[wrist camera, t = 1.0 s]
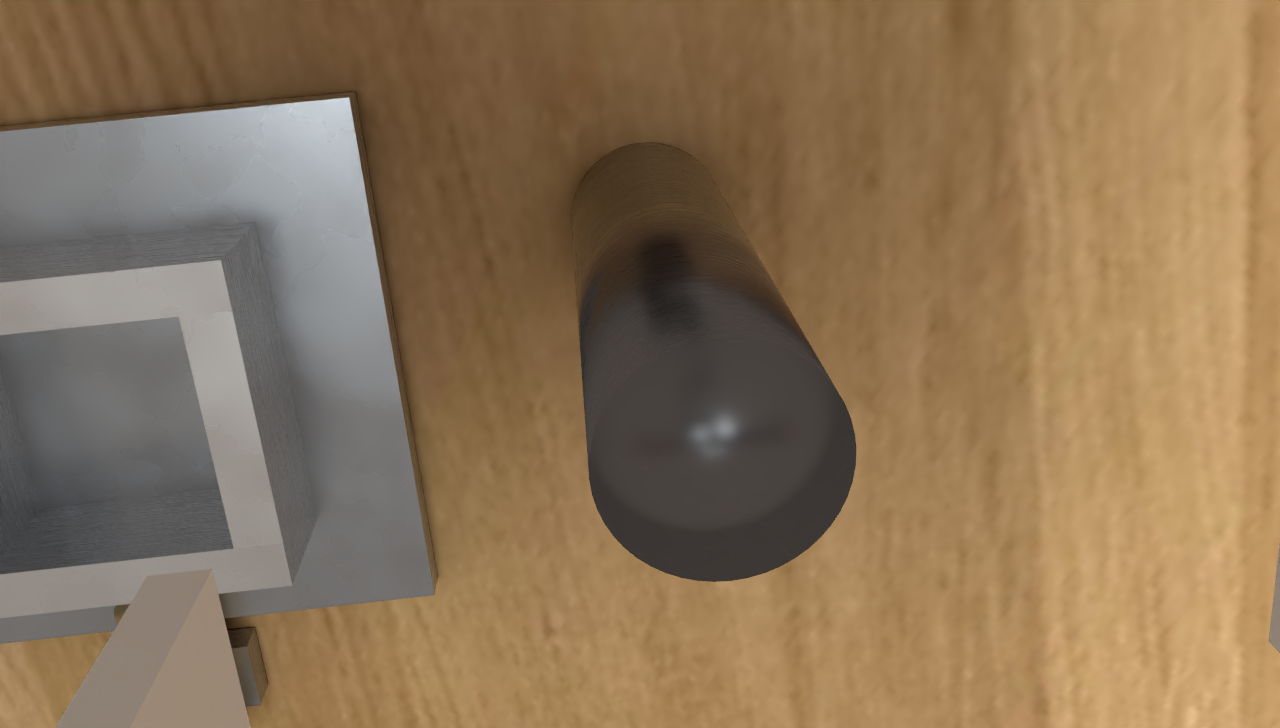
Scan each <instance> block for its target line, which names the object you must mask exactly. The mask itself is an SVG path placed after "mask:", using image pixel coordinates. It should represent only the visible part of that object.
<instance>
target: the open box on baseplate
mask: <svg viewBox="0 0 1280 728" xmlns="http://www.w3.org/2000/svg"><path fill="white" fill-rule="evenodd" d="M205 569H212V570H213V574H214V578H215V582H216V586H217V591H218V595H219V599H220V603H221V607H222V611H223V615H224V618H233V617H242V616H251V615H260V614H269V613H278V612H287V611H295V610H304V609H313V608H322V607H331V606H340V605H349V604H358V603H367V602H375V601H384V600H393V599H402V598H411V597H420V596H429V595H435V589H436V583H437V571H436V565H435V559H434V553H433V547H432V541H431V535H430V529H429V523H428V518H427V512H426V506H425V500H424V494H423V488H422V482H421V476H420V470H419V464H418V459H417V453H416V447H415V441H414V435H413V429H412V423H411V417H410V411H409V405H408V400H407V394H406V388H405V382H404V376H403V370H402V364H401V358H400V352H399V346H398V341H397V335H396V329H395V323H394V317H393V311H392V305H391V299H390V293H389V287H388V281H387V276H386V270H385V264H384V258H383V252H382V246H381V240H380V234H379V228H378V222H377V217H376V211H375V205H374V199H373V193H372V187H371V181H370V175H369V169H368V163H367V158H366V152H365V146H364V140H363V134H362V128H361V122H360V116H359V110H358V104H357V99H356V93H355V91H354V92H344V93H334V94H323V95H313V96H303V97H293V98H283V99H272V100H262V101H252V102H242V103H232V104H221V105H211V106H201V107H191V108H181V109H170V110H160V111H150V112H140V113H130V114H119V115H109V116H99V117H89V118H79V119H68V120H58V121H48V122H38V123H28V124H17V125H7V126H0V644H2V643H11V642H20V641H29V640H38V639H46V638H55V637H64V636H73V635H82V634H91V633H100V632H109V631H114V630H115V628H116V626H117V625H118V623H119V621H120V620H121V618H122V617H123V615H124V613H125V612H126V610H127V608H128V607H129V605H130V603H131V602H132V600H133V599H134V597H135V595H136V594H137V592H138V590H139V589H140V587H141V585H142V584H143V582H144V580H145V579H146V577H147V576H151V575H160V574H169V573H178V572H187V571H196V570H205ZM227 632H228V636H229V640H230V644H231V648H232V653H233V657H234V661H235V665H236V669H237V673H238V677H239V682H240V686H241V690H242V694H243V698H244V702H245V706H254V705H261V703H262V700H263V697H264V694H265V692H266V689H267V686H268V681H267V677H266V673H265V669H264V664H263V660H262V656H261V652H260V647H259V643H258V639H257V635H256V631H255V627H252V628H243V629H234V630H227Z"/></svg>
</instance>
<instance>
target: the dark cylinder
mask: <svg viewBox="0 0 1280 728" xmlns="http://www.w3.org/2000/svg"><path fill="white" fill-rule="evenodd" d="M571 220H572V237H573V251H574V266H575V280H576V294H577V309H578V323H579V337H580V352H581V366H582V380H583V395H584V409H585V424H586V438H587V452H588V467H589V480H590V485H591V490H592V495H593V498H594V501H595V504H596V507H597V510H598V512H599V513H600V515H601V517H602V519H603V521H604V523H605V525H606V526H607V527H608V529H609V530H610V532H611V533H612V535H613V536H614V537H615V538H616V539H617V540H618V541H619V542H620V543H621V544H622V546H623V547H624V548H626V549H627V550H628V551H629V552H630V553H632V554H633V555H634V556H635V557H637V558H638V559H640V560H641V561H643V562H645V563H646V564H648V565H650V566H651V567H654V568H656V569H658V570H660V571H663V572H665V573H668V574H671V575H674V576H678V577H681V578H686V579H692V580H697V581H713V582H716V581H732V580H738V579H744V578H749V577H752V576H756V575H759V574H763V573H766V572H768V571H770V570H773V569H775V568H778V567H780V566H782V565H784V564H785V563H787V562H789V561H791V560H793V559H794V558H796V557H797V556H799V555H800V554H801V553H803V552H804V551H805V550H807V549H808V548H809V547H810V546H812V545H813V544H814V543H815V542H816V541H817V540H818V539H819V538H820V537H821V536H822V535H823V534H824V533H825V531H826V530H827V529H828V528H829V527H830V526H831V524H832V523H833V521H834V520H835V518H836V517H837V515H838V514H839V512H840V511H841V509H842V507H843V505H844V502H845V500H846V498H847V496H848V493H849V490H850V487H851V484H852V481H853V476H854V471H855V465H856V442H855V433H854V429H853V425H852V421H851V418H850V415H849V413H848V410H847V408H846V405H845V403H844V402H843V400H842V398H841V396H840V395H839V393H838V391H837V390H836V388H835V386H834V385H833V383H832V381H831V379H830V378H829V376H828V374H827V373H826V371H825V369H824V368H823V366H822V364H821V362H820V361H819V359H818V357H817V356H816V354H815V352H814V351H813V349H812V347H811V345H810V344H809V342H808V340H807V339H806V337H805V335H804V334H803V332H802V330H801V328H800V327H799V325H798V323H797V322H796V320H795V318H794V317H793V315H792V313H791V311H790V310H789V308H788V306H787V305H786V303H785V301H784V300H783V298H782V296H781V294H780V293H779V291H778V289H777V288H776V286H775V284H774V282H773V281H772V279H771V277H770V276H769V274H768V272H767V271H766V269H765V267H764V265H763V264H762V262H761V260H760V259H759V257H758V255H757V254H756V252H755V250H754V248H753V247H752V245H751V243H750V242H749V240H748V238H747V237H746V235H745V233H744V231H743V230H742V228H741V226H740V225H739V223H738V221H737V220H736V218H735V216H734V214H733V213H732V211H731V209H730V208H729V206H728V204H727V203H726V201H725V199H724V197H723V196H722V194H721V192H720V191H719V189H718V187H717V186H716V184H715V182H714V180H713V179H712V177H711V175H710V174H709V173H708V171H707V170H706V169H705V168H704V166H703V165H701V164H700V163H699V162H698V161H697V160H696V159H695V158H693V157H692V156H691V155H689V154H688V153H686V152H684V151H682V150H680V149H678V148H675V147H672V146H669V145H665V144H660V143H637V144H631V145H628V146H625V147H621V148H619V149H617V150H615V151H612V152H611V153H609V154H607V155H606V156H604V157H603V158H601V159H600V160H599V161H598V162H597V163H595V164H594V165H593V167H592V168H591V169H590V170H589V171H588V172H587V174H586V175H585V176H584V178H583V179H582V181H581V183H580V185H579V187H578V189H577V191H576V194H575V197H574V201H573V205H572V214H571Z"/></svg>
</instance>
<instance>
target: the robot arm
mask: <svg viewBox="0 0 1280 728" xmlns="http://www.w3.org/2000/svg"><path fill="white" fill-rule="evenodd" d="M1269 642H1270V643H1271V644H1272V645H1273V646H1274V647H1275V648H1276V649H1277V650H1278V651H1279V652H1280V544H1279V553H1278V562H1277V571H1276V580H1275V589H1274V598H1273V607H1272V616H1271V625H1270V634H1269ZM55 728H251V727H250V723H249V719H248V715H247V710H246V706H245V702H244V698H243V694H242V690H241V686H240V682H239V677H238V673H237V669H236V665H235V661H234V657H233V653H232V648H231V644H230V640H229V636H228V632H227V628H226V624H225V620H224V615H223V611H222V607H221V603H220V599H219V595H218V591H217V586H216V582H215V578H214V574H213V570H212V569H205V570H196V571H187V572H178V573H169V574H160V575H151V576H147V577H146V579H145V580H144V582H143V584H142V585H141V587H140V589H139V590H138V592H137V594H136V595H135V597H134V599H133V600H132V602H131V603H130V605H129V607H128V608H127V610H126V612H125V613H124V615H123V617H122V618H121V620H120V621H119V623H118V625H117V626H116V628H115V630H114V631H113V633H112V635H111V636H110V638H109V640H108V641H107V643H106V644H105V646H104V648H103V649H102V651H101V653H100V654H99V656H98V658H97V659H96V661H95V663H94V664H93V666H92V667H91V669H90V671H89V672H88V674H87V676H86V677H85V679H84V681H83V682H82V684H81V685H80V687H79V689H78V690H77V692H76V694H75V695H74V697H73V699H72V700H71V702H70V704H69V705H68V707H67V708H66V710H65V712H64V713H63V715H62V717H61V718H60V720H59V722H58V723H57V725H56V727H55Z"/></svg>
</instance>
